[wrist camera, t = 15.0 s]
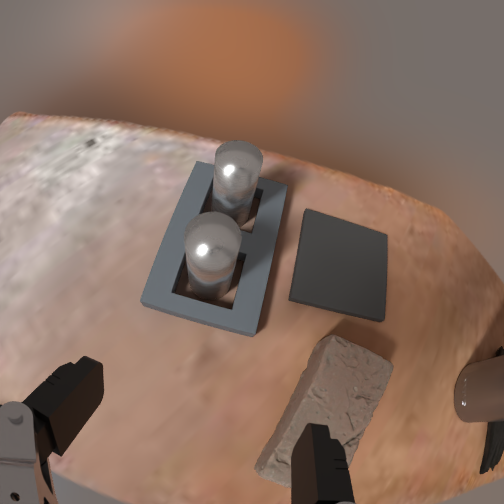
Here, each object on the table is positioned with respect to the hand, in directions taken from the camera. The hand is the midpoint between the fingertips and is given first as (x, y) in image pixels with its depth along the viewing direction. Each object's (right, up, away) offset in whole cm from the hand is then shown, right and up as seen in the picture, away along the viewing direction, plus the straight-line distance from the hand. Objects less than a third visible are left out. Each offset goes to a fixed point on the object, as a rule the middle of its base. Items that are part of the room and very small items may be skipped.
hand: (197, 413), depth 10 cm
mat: (+13, +4, +26) cm, 30 cm away
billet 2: (-3, +3, +23) cm, 23 cm away
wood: (+42, -20, +21) cm, 51 cm away
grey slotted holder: (-2, +7, +25) cm, 26 cm away
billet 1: (-1, +11, +27) cm, 29 cm away
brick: (+9, -12, +19) cm, 24 cm away
